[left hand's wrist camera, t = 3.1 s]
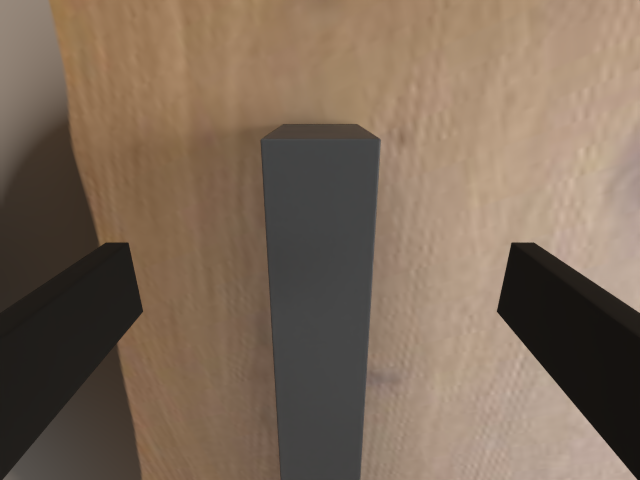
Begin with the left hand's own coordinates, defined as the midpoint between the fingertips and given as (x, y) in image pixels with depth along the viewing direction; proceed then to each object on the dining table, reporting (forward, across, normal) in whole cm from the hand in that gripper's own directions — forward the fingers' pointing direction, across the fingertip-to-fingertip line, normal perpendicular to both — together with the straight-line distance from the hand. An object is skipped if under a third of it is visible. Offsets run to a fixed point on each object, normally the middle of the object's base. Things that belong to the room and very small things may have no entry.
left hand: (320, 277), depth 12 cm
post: (+12, 0, -22) cm, 25 cm away
